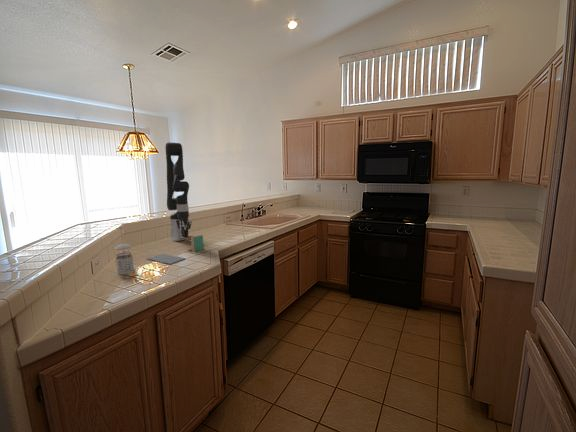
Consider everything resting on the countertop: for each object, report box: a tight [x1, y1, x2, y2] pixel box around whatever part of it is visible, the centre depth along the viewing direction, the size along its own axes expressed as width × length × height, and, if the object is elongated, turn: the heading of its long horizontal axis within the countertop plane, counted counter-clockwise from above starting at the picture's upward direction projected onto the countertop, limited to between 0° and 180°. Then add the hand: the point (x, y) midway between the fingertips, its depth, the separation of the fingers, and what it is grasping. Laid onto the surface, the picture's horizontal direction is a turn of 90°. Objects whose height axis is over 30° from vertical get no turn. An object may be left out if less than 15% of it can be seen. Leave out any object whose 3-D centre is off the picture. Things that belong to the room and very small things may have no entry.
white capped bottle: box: [114, 226, 136, 275], centre depth 151 cm, size 10×12×25 cm
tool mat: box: [146, 253, 186, 265], centre depth 173 cm, size 22×11×1 cm, turn 60°
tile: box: [190, 234, 204, 253], centre depth 190 cm, size 2×8×10 cm, turn 150°
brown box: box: [180, 228, 195, 241], centre depth 193 cm, size 10×7×7 cm
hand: (184, 234), depth 195 cm, fingers closed on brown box, 3 cm apart
